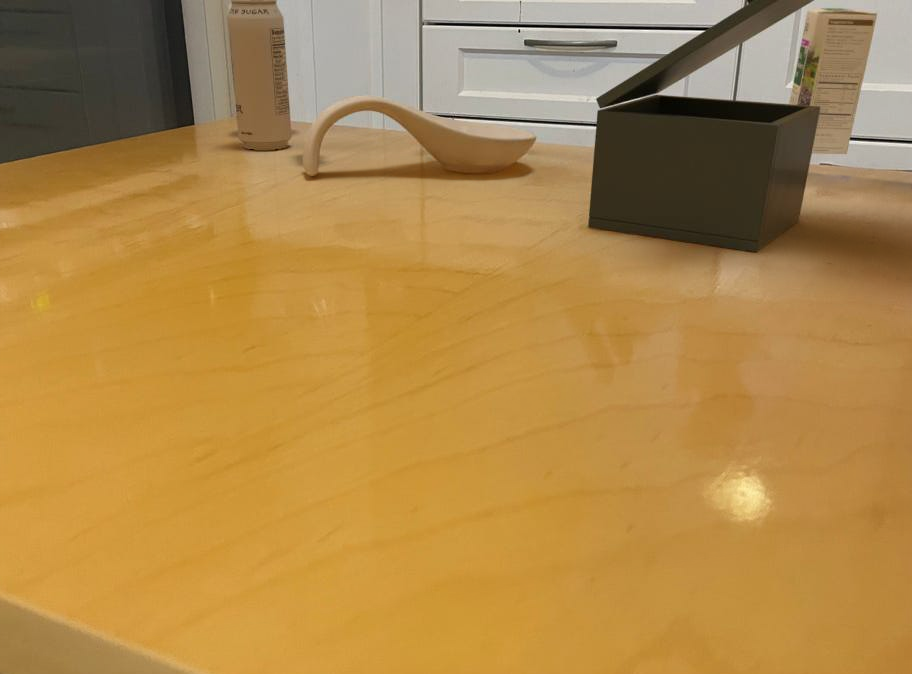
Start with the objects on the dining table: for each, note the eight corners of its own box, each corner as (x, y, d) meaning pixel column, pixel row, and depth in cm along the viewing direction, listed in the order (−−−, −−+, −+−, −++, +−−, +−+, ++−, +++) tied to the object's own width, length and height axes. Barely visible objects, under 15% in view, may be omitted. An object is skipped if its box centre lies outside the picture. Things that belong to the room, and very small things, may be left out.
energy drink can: (247, 142, 111) (234, -2, 104) (297, 142, 111) (287, -2, 103) (233, 150, 106) (218, 0, 98) (285, 151, 105) (274, 0, 98)
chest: (799, 220, 77) (820, 106, 73) (756, 252, 69) (778, 125, 65) (643, 200, 84) (655, 94, 80) (587, 227, 76) (597, 110, 71)
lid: (825, -7, 70) (800, -73, 69) (781, -2, 61) (752, -78, 61) (657, 93, 79) (634, 36, 79) (599, 108, 71) (572, 45, 70)
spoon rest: (513, 156, 103) (516, 85, 100) (550, 176, 93) (555, 98, 90) (298, 165, 98) (293, 91, 95) (313, 188, 88) (308, 106, 85)
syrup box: (777, 157, 102) (803, 7, 95) (834, 158, 102) (864, 8, 94) (787, 167, 97) (815, 10, 90) (846, 169, 97) (880, 10, 90)
